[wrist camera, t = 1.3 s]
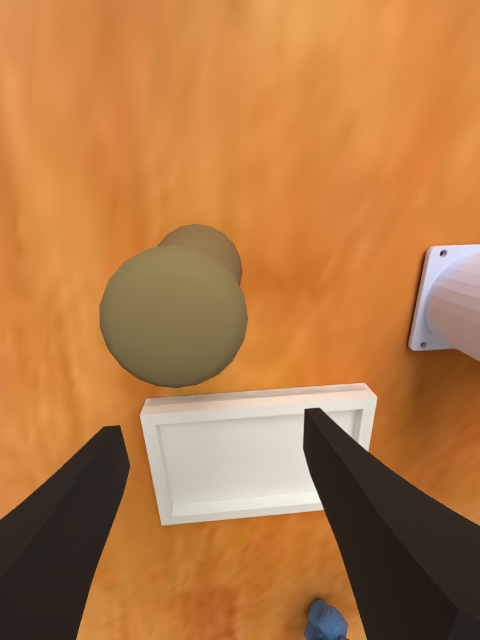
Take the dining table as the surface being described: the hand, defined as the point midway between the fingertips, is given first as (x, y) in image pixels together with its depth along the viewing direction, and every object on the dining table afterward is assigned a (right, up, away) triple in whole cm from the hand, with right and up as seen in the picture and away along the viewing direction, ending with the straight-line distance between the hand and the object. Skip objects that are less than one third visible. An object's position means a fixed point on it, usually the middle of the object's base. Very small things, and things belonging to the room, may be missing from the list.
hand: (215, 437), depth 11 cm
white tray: (+3, -7, +14) cm, 16 cm away
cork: (-2, +8, +8) cm, 12 cm away
